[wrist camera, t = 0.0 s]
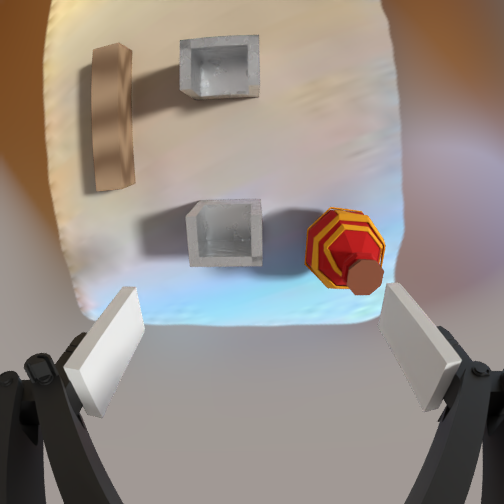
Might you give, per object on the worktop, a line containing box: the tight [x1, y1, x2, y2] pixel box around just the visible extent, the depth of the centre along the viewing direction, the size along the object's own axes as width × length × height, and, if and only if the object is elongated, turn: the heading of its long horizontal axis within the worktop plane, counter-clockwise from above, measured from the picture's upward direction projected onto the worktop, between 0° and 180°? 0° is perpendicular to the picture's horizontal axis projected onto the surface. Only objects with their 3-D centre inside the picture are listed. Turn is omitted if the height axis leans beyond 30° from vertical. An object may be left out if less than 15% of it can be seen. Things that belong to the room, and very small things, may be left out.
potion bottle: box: [305, 207, 385, 295], centre depth 36 cm, size 10×10×15 cm
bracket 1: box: [180, 35, 260, 100], centre depth 31 cm, size 6×8×9 cm
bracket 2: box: [185, 199, 262, 267], centre depth 38 cm, size 6×8×9 cm
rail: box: [91, 43, 136, 191], centre depth 35 cm, size 20×4×5 cm, turn 1°
